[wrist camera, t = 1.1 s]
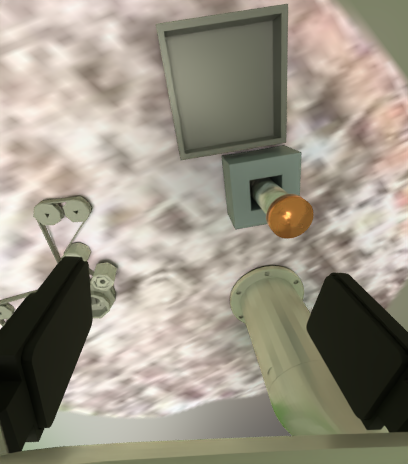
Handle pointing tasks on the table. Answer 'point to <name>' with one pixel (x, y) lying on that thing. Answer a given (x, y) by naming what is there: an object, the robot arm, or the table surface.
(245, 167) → the block
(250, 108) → the parts tray
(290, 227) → the pin
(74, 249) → the pulley system
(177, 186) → the table surface
